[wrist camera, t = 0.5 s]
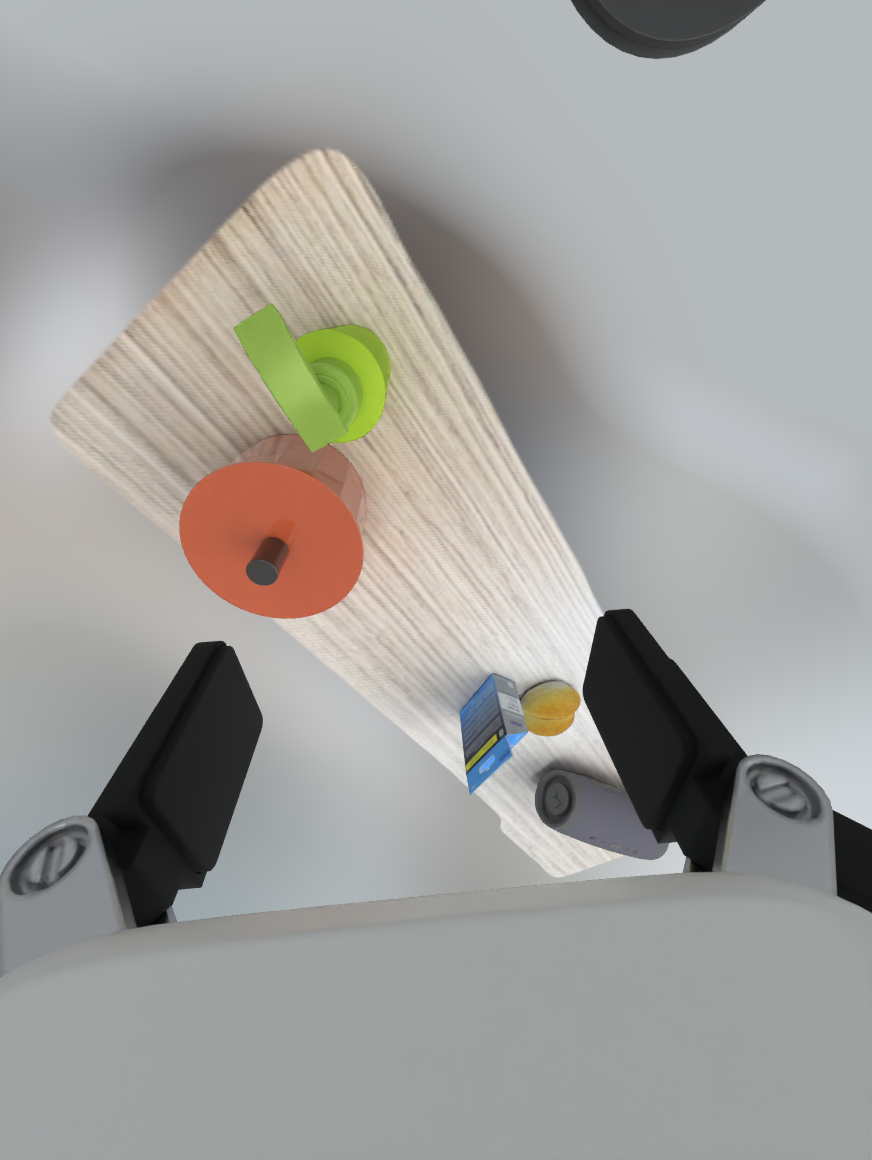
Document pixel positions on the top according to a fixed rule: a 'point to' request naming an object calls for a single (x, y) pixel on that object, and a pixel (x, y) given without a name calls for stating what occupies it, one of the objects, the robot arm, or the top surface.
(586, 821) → the bluetooth speaker
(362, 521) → the pot
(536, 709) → the bread roll
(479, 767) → the label tape box
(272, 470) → the pot lid
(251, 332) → the soap dispenser
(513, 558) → the top surface
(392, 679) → the top surface
